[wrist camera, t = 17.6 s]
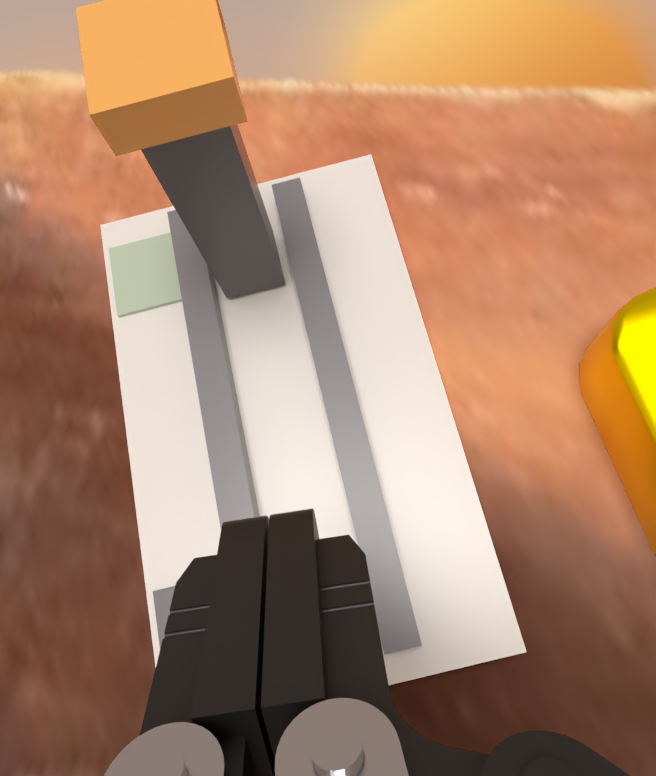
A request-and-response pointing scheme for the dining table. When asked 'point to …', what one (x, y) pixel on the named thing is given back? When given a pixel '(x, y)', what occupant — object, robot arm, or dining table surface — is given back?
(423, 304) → the dining table surface
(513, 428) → the dining table surface
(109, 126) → the lever
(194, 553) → the switch panel
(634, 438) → the element tile
